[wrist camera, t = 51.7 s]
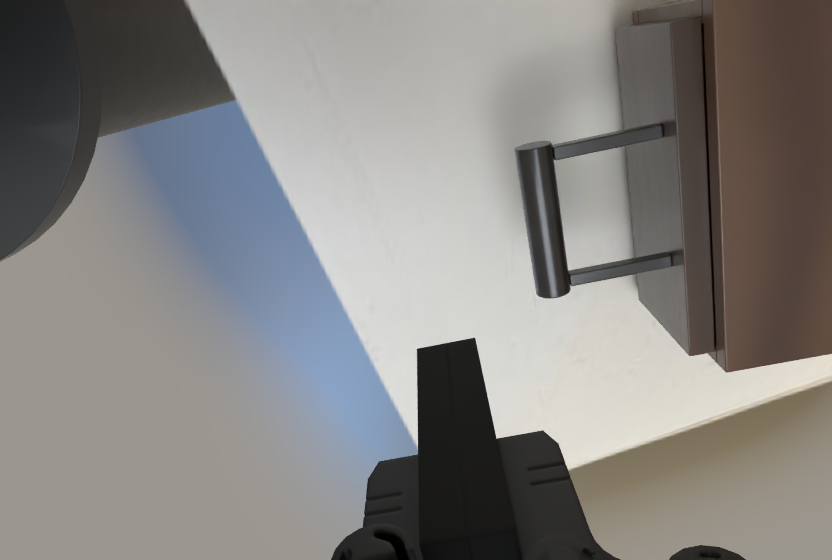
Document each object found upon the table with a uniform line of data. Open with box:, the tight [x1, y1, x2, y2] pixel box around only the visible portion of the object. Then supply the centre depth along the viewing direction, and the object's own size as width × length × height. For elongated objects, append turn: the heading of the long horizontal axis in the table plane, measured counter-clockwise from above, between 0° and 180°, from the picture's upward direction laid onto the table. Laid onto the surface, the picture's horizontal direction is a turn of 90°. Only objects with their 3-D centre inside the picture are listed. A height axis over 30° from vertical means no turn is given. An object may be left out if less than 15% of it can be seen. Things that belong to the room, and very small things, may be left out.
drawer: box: [515, 16, 715, 356], centre depth 29 cm, size 22×15×7 cm, turn 102°
